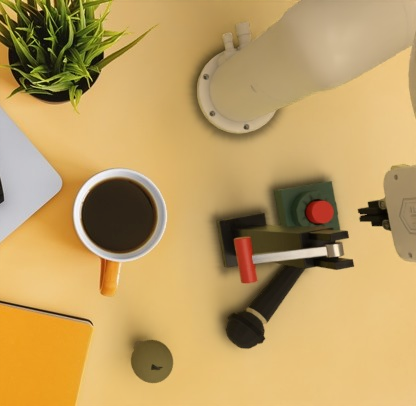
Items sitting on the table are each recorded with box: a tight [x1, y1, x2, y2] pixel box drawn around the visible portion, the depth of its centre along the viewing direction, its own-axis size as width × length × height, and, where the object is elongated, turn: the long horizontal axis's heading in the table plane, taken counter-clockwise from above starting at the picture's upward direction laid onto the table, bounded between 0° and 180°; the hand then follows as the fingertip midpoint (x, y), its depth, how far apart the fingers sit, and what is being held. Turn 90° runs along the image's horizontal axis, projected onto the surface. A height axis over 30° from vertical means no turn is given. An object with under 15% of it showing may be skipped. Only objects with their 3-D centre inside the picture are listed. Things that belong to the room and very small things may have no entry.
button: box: [306, 201, 334, 223], centre depth 78 cm, size 3×3×2 cm
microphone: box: [225, 265, 306, 350], centre depth 80 cm, size 6×6×20 cm
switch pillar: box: [216, 212, 355, 271], centre depth 69 cm, size 7×7×26 cm
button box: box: [273, 180, 341, 230], centre depth 81 cm, size 8×8×4 cm
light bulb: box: [130, 339, 174, 384], centre depth 75 cm, size 6×6×10 cm
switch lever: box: [234, 237, 345, 284], centre depth 60 cm, size 5×11×2 cm, turn 100°
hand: (369, 213), depth 67 cm, fingers closed
